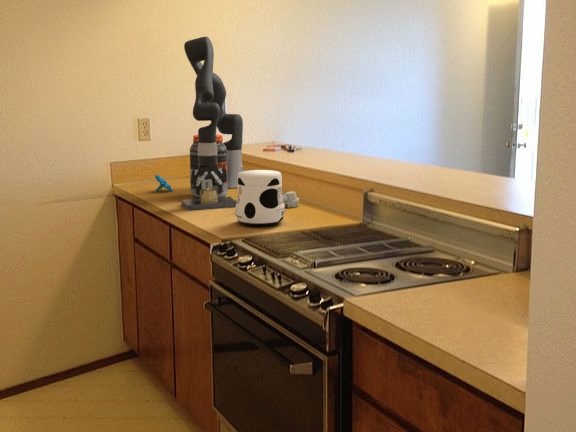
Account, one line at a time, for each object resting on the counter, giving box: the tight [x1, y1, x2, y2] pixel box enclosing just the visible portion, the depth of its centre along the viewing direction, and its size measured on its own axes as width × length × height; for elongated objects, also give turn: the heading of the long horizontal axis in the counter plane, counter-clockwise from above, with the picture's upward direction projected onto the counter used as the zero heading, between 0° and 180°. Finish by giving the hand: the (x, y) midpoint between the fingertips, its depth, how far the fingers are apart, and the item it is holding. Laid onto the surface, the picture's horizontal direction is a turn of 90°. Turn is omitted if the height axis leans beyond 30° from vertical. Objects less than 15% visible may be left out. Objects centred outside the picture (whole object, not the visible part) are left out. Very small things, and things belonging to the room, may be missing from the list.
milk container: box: [235, 169, 286, 227], centre depth 249 cm, size 17×17×18 cm
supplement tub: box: [189, 134, 228, 199], centre depth 302 cm, size 16×16×26 cm
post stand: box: [180, 189, 237, 211], centre depth 282 cm, size 20×12×6 cm, turn 110°
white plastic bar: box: [282, 190, 300, 209], centre depth 275 cm, size 5×7×25 cm
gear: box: [154, 174, 173, 192], centre depth 315 cm, size 11×6×10 cm
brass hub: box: [200, 188, 218, 202], centre depth 281 cm, size 6×6×4 cm
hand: (208, 194), depth 281 cm, fingers open, 8 cm apart
